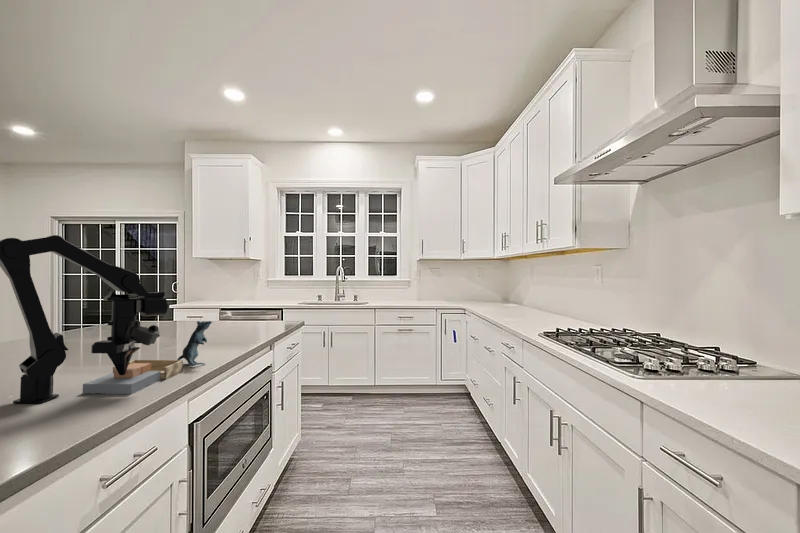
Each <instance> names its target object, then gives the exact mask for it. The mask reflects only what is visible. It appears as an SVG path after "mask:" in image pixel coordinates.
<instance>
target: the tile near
mask: <svg viewBox="0 0 800 533" xmlns="http://www.w3.org/2000/svg"><path fill="white" fill-rule="evenodd" d="M140 374H142V367H127V370H126V373H125V375H119V373H118V371H117V370H114V378H133V377H135V376H138V375H140Z"/></svg>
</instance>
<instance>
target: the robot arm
mask: <svg viewBox="0 0 800 533" xmlns="http://www.w3.org/2000/svg"><path fill="white" fill-rule="evenodd" d="M45 253H53V254H55V255H57V256H59V257H60V258H63V259H65V260H67V261H69V262H71V263H72V264H74V265H76V266H79V267H81V268H82V269H84V270H86V271H88V272H89V273H92V274H93V275H95V276H97V277H98V278H99V279H100V280H102V281H103V283H105V284H106V285H107V286H109V287H111V289H113V290H114V291H116V292H119V293H123V294H117V293H115V292H114V291H110V292H109V293H108V294H107V295H106V296H104V297H103V298H102V300H103V301H106V302H112V303H111V320H109V321H107V326H110V330H111V331H110V336H107V340H106V339H103V340H99V341H95V342H94V343H93V344H92V345H91V350H90V351H91V354H106V355H107V356H108V358H109V359H110V361H111V362H112V364H113V367H115V368H116V370H117V371H118V373H119V375H125V373H126V370H127V367H128V364H129V362H130V361H131V360H132V359H131V358H132V357H133V354H134V353H136V352H137V351H138V350H140V349H141V347H140V346H139V347H137V346H136V344H142V345H144V346H150V345H154V344H155V343H156V340H157V339H158V338H159V337H160V336H161V335H160V329H159V326H158V325H154V324H152V325H150V326H148V327H147V326H141V321H140V319H139V320H138V319H137V313H139V314H140V316H141V317H152V316H157V317H158V316H165V315H166V314H167V311H168V309H169V308H168V305H169V303H168V302H167V297H166V296H165V295H166V293H165V291H155V292H148V291H147V290H146V289H145V287H144V286H143V285H142V284H141V279H140V275H139V274H137V273H136V272H134V271H132V270H129V269H127V268H123V267H120V266H117V265H113V264H110V263H109V262H107V261H104V260H102V259H101V258H98V257H96V255H93V254H92V253H89V252H88V251H86V250H84V249H82V248H81V247H79V246H77V245H75V244H73V243H72V242H70V241H67V240H66V239H64V237H62V236H61V235H57V234H56V235H55V234H54V235H49V236H46V237H39V238H34V239H26V240H21V239H19V238H16V237H7V238H3V239H0V268H1V270H2V271H3V272H4V274H5V275H6V276H7V278H8V279H9V283H10V285H11V287H12V290H13V293H14V295H15V298H16V300H17V301H16V302H17V304H18V306H19V309H20V311H21V314H22V316H23V320H24V322H25V325H26V328H27V331H28V333H29V334H28V335H29V350H30V355H29V356H28V357H27V358H25V359H24V360H23V361H22V362H21V363H20V364H19V365H18V366H19V369H20V371H21V373H22V376H21V377H20V387H19V388H20V390H19V391H20V392H19V398H17V399H15V400H13V401H12V404H42V403H45V402H47V401H50V400H53V399H55V398H57V397H59V396H60V395H59V393H58V394H57V393H54V375H55V372H56V371H57V368H58V367H60V366H61V365H62V364H63V363H64V362H65V360H66V359H67V352H66V351H69V349H68V347H67V346H66V345H65V341H64V340H65V339H64V336H63V334H62V333H59V332H53V331H52V329H51V327H50V325H49V322H48V319H47V317H46V314H45V312H44V309H43V308H44V307H43V306H42V303H41V300H40V297H39V295H38V292H37V289H36V286H35V282H34V281H33V278H32V275H31V257H30V256H33V255H40V254H45ZM124 293H126V294H124ZM130 296H137V297H130ZM53 393H54V394H53Z"/></svg>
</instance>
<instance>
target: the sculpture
mask: <svg viewBox="0 0 800 533" xmlns="http://www.w3.org/2000/svg"><path fill="white" fill-rule="evenodd" d="M196 324H197V325H196V328H195V330H194V331H193V332H192V333H191V335H190V337H189V340H188V342H187V344H186V346H185V347H184V348H183V349H182V354H181V355H179V357H178V358H176V360H183V359H185V360H186V361H187V363H183V366H184V367H189V366H196V365H205V364H206V363H205V362H198V361H195V360H196V359H197V358H198V356H199V350H198V346H200V345H205V343H208V339H207V338H206V336H205V334H204V332H205V330H207V329H209V327H210V325H212V324H213V322H212V321H211V320H210V321H209V320H208V321H205V320H203V321H202V322H201V321H199V320H197V322H196Z"/></svg>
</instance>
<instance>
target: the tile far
mask: <svg viewBox="0 0 800 533" xmlns="http://www.w3.org/2000/svg"><path fill="white" fill-rule="evenodd" d="M128 367H142V374H143V373H145V372H148V371H150V370H151V363H133V364H130V365H128Z"/></svg>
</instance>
